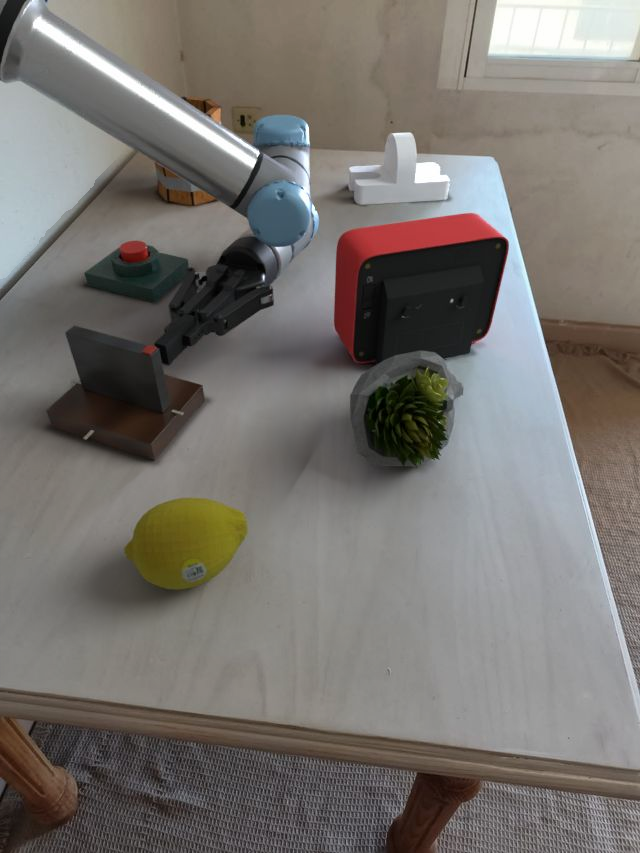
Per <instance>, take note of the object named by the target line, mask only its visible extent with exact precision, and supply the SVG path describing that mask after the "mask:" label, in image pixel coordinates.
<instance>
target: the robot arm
mask: <svg viewBox="0 0 640 853" xmlns="http://www.w3.org/2000/svg"><path fill="white" fill-rule="evenodd" d="M49 1H50V0H0V82H2V83H4V84H11V83H16V82H21V83H23V84H25V85H26V86H28V87H29V88H31V89H33V90H35V91H36V92H38V93H40V94H41V95H43V96H45V97H46V98H48V99H49V100H51V101H53V102H54V103H56V104H58V105H59V106H61V107H63V108H64V109H66V110H67V111H70V112H71V113H73V114H74V115H76V116H78V117H80V118H81V119H83V120H84V121H86V122H88V123H89V124H91V125H93V126H94V127H96V128H98V129H100V130H101V131H102V132H104V133H106V134H108V135H109V136H111V137H113V138H114V139H116V140H117V141H119V142H121V143H123V145H126V146H128V147H129V148H131V149H133V150H134V151H136V152H137V153H139V154H141V155H142V156H144V157H146V158H147V159H149V160H151V161H152V162H154V163H155V162H156V163H157V164H159V165H161V166H162V167H164V168H166V169H167V170H169V171H170V172H172V173H174V174H175V175H177V176H179V177H180V178H182V179H184V180H185V181H187V182H189V183H190V184H192V185H194V186H195V187H197V188H199V189H200V190H202V191H204V192H205V193H207V194H209V195H210V196H212V197H214V198H215V199H217V201H218V202H221V203H222V204H223V205H225V206H226V207H228V208H230V209H232V210H233V211H235V212H236V213H238V214H239V215H241V216H243V217H244V218H246V219H247V221H248V226H249V228H248V229H247V230H245V232H243V233H242V234H241V235H240V236H239V237H238V238H237V239H235V240H234V241H233V242H232V243H231V244H230V245H228V246H227V247H226V248H225V249H224V250H223V251H222V252H221V254H220V256H219V258H218V260H217V262H216V264H214V265H211V266H209V267H207V268H206V270H205V271H196V270H195V268H194V267H193V266H189V268H186V269H185V272H186V275H185V276H184V278H183V280H182V282H181V284H180V285H179V287H178V289H177V290H176V292H175V293H174V295H173V297H172V299H171V300H170V302H169V303H168V311H169V316H170V322H169V323H168V324H166V325H165V327H164V330H163V334H162V335H161V336H159V337H158V339H157V340H155V341H154V343H153V344H154V345H153V346H155V347H157V348H159V350H160V355H161V360H162V365H166V366H170V365H171V364H172V363H173V362H174V361H175V360H176V359H177V358H178V357H179V356H180V355H181V354H182V353H184V351H185V350H186V349H187V348H188V347H189V348H192V347H194V346H195V345H196V344H197V343H198V342H199V341H201V339H202V338H203V337H204V336H207V335H210V334H211V333H215V335H216V336H218V337H223V336H225V335H226V334H228V333H229V332H231V331H232V330H234V329H235V328H236V327H238V326H239V325H241V324H242V323H244V322H245V321H246V320H248V319H250V318H251V317H253V316H254V315H256V314H257V313H259V312H260V311H262V310H265V309H267V308H271V307H274V305H275V303H274V302H275V300H274V286H273V285H272V284H273V283H274V282H275V280H277V279H278V278H279V277H280V275H281V274H282V273H283V272H284V271H285V270H286V269H287V268H288V266H289V265H290V264H291V262H292V261H293V260H294V259H295V258H297V256H298V255H299V254H300V253H301V252H302V251H303V250H305V249H307V247H308V246H309V244H310V243H311V241H312V240H313V238H314V236H315V235H316V233H317V231H318V229H319V224H320V218H319V215H318V212H317V209H316V208H315V205H314V204H313V201H312V196H311V173H310V172H311V171H310V149H311V142H310V129H309V125H308V123H307V122H306V121H305V120H304V119H302V118H301V117H298V116H294V115H290V114H273V115H269V116H268V115H267V116H263V117H261V118H259V119H258V120H256V122H255V123H254V126H253V142H252V144H251V143H250V142H248V141H246V139H244V138H242V137H241V136H239V135H237V134H236V133H234V132H233V131H232V130H230V129H229V128H227V127H226V126H224V125H223V124H222V123H221V124H219V123H218V122H216V121H215V120H213V119H212V118H210V117H209V116H207V115H206V114H204V113H203V112H201V111H200V110H198V109H197V108H195V107H194V106H192V105H191V104H189V103H188V102H186V101H185V100H183V99H182V98H180V97H181V96H179V95H177V94H176V93H174V92H173V91H171V90H170V89H168V88H167V87H165V86H164V85H162V84H161V83H159V82H157V81H156V80H155V79H153V78H151V77H150V76H149V75H148V74H146V73H144V72H143V71H141V70H140V69H138V68H137V67H135V66H134V65H132V64H131V63H129V62H128V61H126V60H125V59H123V58H122V57H120V56H118V55H117V54H115V53H114V52H113V51H111V50H109V49H108V48H106V47H105V46H104V45H102V44H101V43H99V42H97V41H96V40H94V39H93V38H91V37H90V36H88V35H87V34H85V33H84V32H82V31H81V30H79V29H77V28H76V27H75V26H74V25H72V24H71V23H68V22H67V21H66V20H64V19H63V18H61V17H60V16H58V15H57V14H55V13H53V11H51V10H50V9H49V7H48V5H47V4H48V3H49ZM204 283H205V284H204ZM203 284H204V285H203ZM202 285H203V287H202Z"/></svg>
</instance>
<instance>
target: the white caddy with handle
mask: <svg viewBox="0 0 640 853" xmlns="http://www.w3.org/2000/svg"><path fill="white" fill-rule="evenodd" d="M441 170H442V167H441V166H440V164H439V163H437V162H430V161H429V162H418V151H417V144H416V139H415V137H414V135H413V133H412V132H393V133H391V132H390V133H389V134H388V136H387V138H386V142H385V147H384V157H383V164H371V165H353V166H350V167H349V168H348V182H347V186H348V190H349V191H350V192H354V193H353V199H354V201H355V204H357V205H361V206H364V205H365V206H366V205H383V204H384V205H385V204H398V203H414V202H432V201H445V200H447V199H448V194H449V189H450V181H451V178H450V177H449V176H448V175H447V174H441Z"/></svg>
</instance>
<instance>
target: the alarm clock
mask: <svg viewBox="0 0 640 853" xmlns="http://www.w3.org/2000/svg"><path fill="white" fill-rule="evenodd" d="M509 249H510V242H509V240H508V238H506V237H505V236H504V235H503V234H502V233H501V232H499V231H498V230H497V229H496V228H495V227H493V226H492V225H491V224H490V223H488V222H487V220H485V219H484V218H483V217H481V216H480V215H479V214H478V213H475V212H464V213H457V214H450V215H442V216H436V217H428V218H421V219H415V220H406V221H399V222H392V223H385V224H377V225H371V226H370V225H369V226H363V227H357V228H352V229H349V230H347V231H344V232H343V233H342V234H341V235H340V236H339V238H338V241H337V243H336V252H335V253H336V254H335V277H334V278H335V280H334V305H333V306H334V308H333V310H334V311H333V326H334V330H335V332H336V333H337V335H338V337H339V338H340V340H341V341H342V343H343V345H344V347H345V348H346V349H347V351H348V353H349V354H350V357H351V358H352V360H353V361H354V362H355V363H357V364H369V363H375V365H377V364H379V363H381V362H382V361H384V360H386V359H388V358H390V357H393V356H395V355H400V354H405V353H410V352H415V351H420V350H421V351H429V352H435V353H436V354H438V355H439V356H440V357H442V358H443V359H447V358H450V357H456V356H461V355H466V354H467V355H468V354H470V353H471V348H472V344H473V343H476V342H479V341H481V340H483V339H484V338H485V337H486V336H487V335H488V333H489V332H490V329H491V326H492V324H493V319H494V315H495V310H496V307H497V302H498V297H499V293H500V289H501V286H502V280H503V277H504V274H505V268H506V265H507V259H508V255H509Z"/></svg>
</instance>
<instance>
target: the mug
mask: <svg viewBox="0 0 640 853" xmlns="http://www.w3.org/2000/svg"><path fill="white" fill-rule="evenodd" d="M179 97H180V98H182V99H183V100H185V101H186V102H188V103H189V104H191V105H192V106H194V107H195V108H197V109H198V110H200V111H201V112H203V113H204V114H206V115H207V116H209V117H210V118H212V119H213V120H215V121H216V122H218V123H219V124H221V125H222V105H220V104H218V103H217V102H215V101H214V100H213V99H210V98H204V97H203V98H202V97H195V96H193V97H192V96H186V95H184V96H179ZM154 165H155V171H156V177H157V191H158V194H159V195H160V196H161V197H162V198H163V199H164V201H166V202H167V203H171V204H179V205H186V206H197V205H203V204H207V203H213V202H216V201H218V200H217V199H215V198H214V197H212V196H210V195H209V194H207V193H205V192H204V191H202V190H200V189H199V188H197V187H195V186H194V185H192V184H190V183H189V182H187V181H185V180H184V179H182V178H180V177H179V176H177V175H175V174H174V173H172V172H170V171H169V170H167V169H166V168H164V167H162V166H161V165H159V164H157V163H156V162H154Z"/></svg>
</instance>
